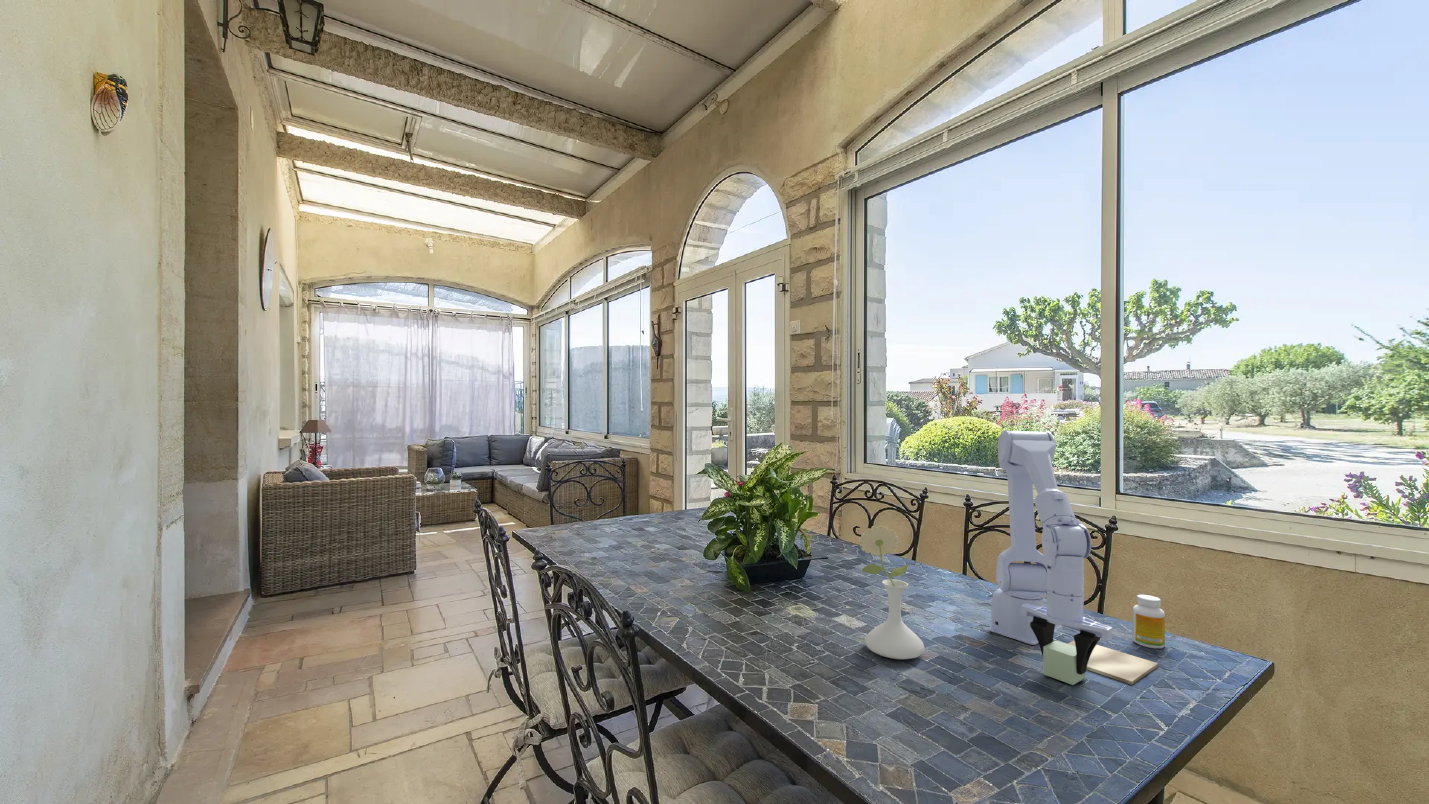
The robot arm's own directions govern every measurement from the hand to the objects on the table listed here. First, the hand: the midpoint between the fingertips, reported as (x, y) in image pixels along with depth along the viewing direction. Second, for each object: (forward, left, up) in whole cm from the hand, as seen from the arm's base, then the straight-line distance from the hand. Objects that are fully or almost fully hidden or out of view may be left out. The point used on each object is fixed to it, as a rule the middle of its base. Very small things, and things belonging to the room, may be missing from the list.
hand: (1064, 666), depth 104 cm
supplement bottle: (+3, +32, -2) cm, 32 cm away
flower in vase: (-25, -17, -2) cm, 30 cm away
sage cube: (0, 0, -2) cm, 2 cm away
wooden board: (+1, +14, -2) cm, 14 cm away
